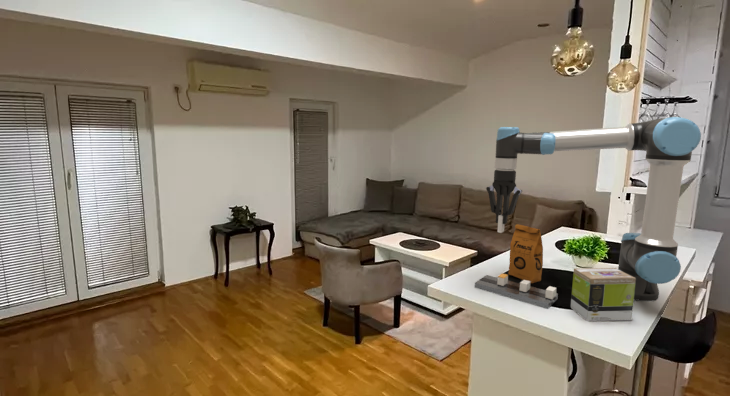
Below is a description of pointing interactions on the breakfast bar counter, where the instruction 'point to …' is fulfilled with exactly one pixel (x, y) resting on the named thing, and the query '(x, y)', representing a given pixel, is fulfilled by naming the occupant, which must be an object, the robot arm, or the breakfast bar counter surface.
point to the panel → (515, 291)
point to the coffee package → (526, 254)
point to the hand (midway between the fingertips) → (500, 231)
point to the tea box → (602, 294)
